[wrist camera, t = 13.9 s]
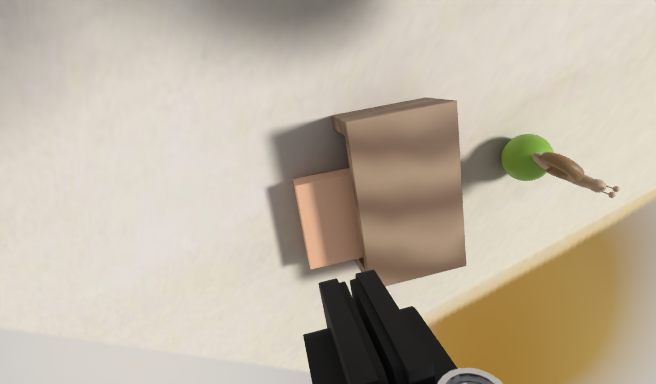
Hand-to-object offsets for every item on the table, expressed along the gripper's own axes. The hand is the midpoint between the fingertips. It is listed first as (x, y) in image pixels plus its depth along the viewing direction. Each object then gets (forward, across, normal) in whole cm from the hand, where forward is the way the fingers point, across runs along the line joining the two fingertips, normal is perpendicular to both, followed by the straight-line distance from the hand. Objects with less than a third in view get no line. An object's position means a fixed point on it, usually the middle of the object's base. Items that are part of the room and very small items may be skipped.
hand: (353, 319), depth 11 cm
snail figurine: (+32, -28, +7) cm, 43 cm away
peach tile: (+33, -7, +9) cm, 35 cm away
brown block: (+32, -11, +7) cm, 35 cm away
